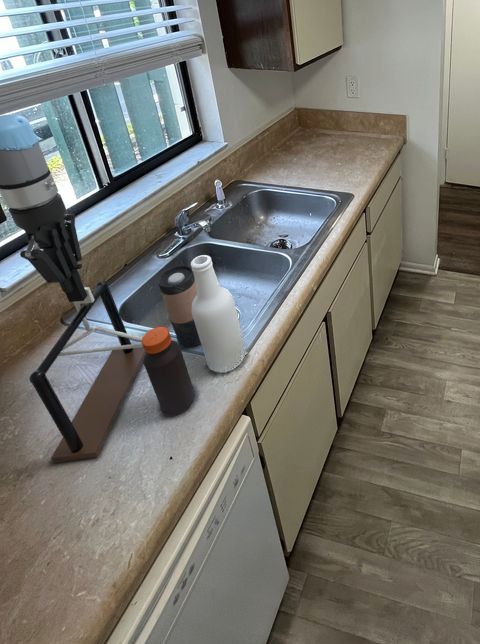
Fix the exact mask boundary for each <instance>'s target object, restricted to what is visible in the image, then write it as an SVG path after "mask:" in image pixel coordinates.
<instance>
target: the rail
mask: <svg viewBox="0 0 480 644" xmlns="http://www.w3.org/2000/svg"><path fill="white" fill-rule="evenodd" d="M91 292H92V295H93V297H94V299H95V300H94V302H93V303H83V304H82V306H81V309H80V310H79V312H78V311H77V313H76V314H75V316H74V317H73V319H72V320H71V321H70V322H69V325H67V327H66V328H65V330H64V331H63V333H62V334H61V335H60V336H59V338H58V340H57V341H56V342H55V343H54V345H53V346H52V348H51V349H50V351H49V352H48V354H46V356H45V358H44V359H43V360H42V362H41V363H40V364H39V366H38V368H37V369H36V370H34V371H33V372H32V373H31V374H30V375H29V379H28V380H29V383H31V384H32V386H33V388H34V389H35V391H36V393H37V395H38V396H39V398H40V400H41V402H42V404H43V405H44V407H45V409H46V411H47V412H48V414H49V415H50V418H51V420H52V421H53V423H54V425H55V426H56V428H57V429H58V431H59V433H60V434H61V436H62V438H61V440H60V441H59V443H58V445H57V447H56V448H55V450H54V451H53V453H52V456H51V457H50V460H51V461H52V463H53V464H56V463H65V462H71V461H79V460H85V459H93V458H94V459H95V458H98V457H99V455H100V454H101V451H102V448H103V446H104V445H105V443H106V441H107V438H108V436H109V435H110V432H111V430H112V428H113V425H114V423H115V422H116V420H117V418H118V415H119V413H120V411H121V409H122V407H123V405H124V403H125V401H126V398H127V396H128V394H129V392H130V390H131V388H132V386H133V384H134V382H135V380H136V378H137V375H138V373H139V372H140V369H141V367H142V365H143V358H144V356H145V353H146V352H145V350H144V348H143V347H139V348H130V349H120V350H111V351H110V354H109V356H108V357H107V358H106V361H105V362H104V364H103V366H102V368H101V369H100V370H99V371H100V372H99V373H98V375H97V376H96V378H95V380H94V382H93V383H92V385H91V387H90V389H89V390H88V392H87V393H86V396H85V397H84V399H83V401H82V403H81V404H80V407H79V408H78V410H77V411H76V413H75V415H74V417H73V418H72V420H71V418H70V417H69V415H68V413H67V412H66V411H67V410H66V409H65V407H64V406H63V404H62V402H61V401H60V398H59V397H58V394H57V393H56V391H55V390H54V389H55V388H53V386H52V384H51V382H50V380H49V378H48V377H47V373H48V371H49V370H50V369H51V367H52V366H53V364H54V363H55V362H56V360H57V358H58V357H59V356H58V355H59V354H60V352H63V351H64V350H63V348H64V347H65V345H66V344H67V343H69V342H70V339H71V338H72V337H73V336H74V334H75V332H76V331H77V330H78V328H79V327H80V325H81V324H82V323H83V322H82V321H83V319H84V318H85V317H87V315H88V313H89V312H90V311H91V309H92V308H93V306H94V305H95V304H96V302H97V301H98V299H99V298H100V299H101V301H102V304H103V306H104V309H105V311H106V314H107V316H108V318H109V321H110V323H111V325H112V328H113V330H114V331H118V332H122V333H126V334H128V332H127V329H126V327H125V325H124V321H123V320H122V317H121V314H120V312H119V309H118V307H117V304H116V301H115V299H114V297H113V294H112V292H111V289H110V287H109V282H107V281H106V280H100V281H98V282H97V283H96V284H95V288H94V290H93V291H91ZM116 337H117V339H118V342H119V344H120V345H119V346H122V345H131V344H132V342H131V339H129V338H125V337H121V336H117V335H116ZM62 350H63V351H62Z"/></svg>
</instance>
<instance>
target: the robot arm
mask: <svg viewBox="0 0 480 644" xmlns="http://www.w3.org/2000/svg"><path fill="white" fill-rule="evenodd" d="M0 196H1V198H2V200H3V203H4V205H5V206H6V207H7V208H9V209H8V212H9V214H10V216H11V218H12V220H13V222H14V224H15V226H16V227H18V228H19V229H21V230H23V231H24V233H25V240H26V242H28V244H27V247H26V249H24V250H23V249H22V250H21V251H20V252H19V253H20V254H19V256H20V258H23V259H24V260H27V261H28V262H29V263H30V264H31V265H32V266H33V268H34V269H35V271H36V272H38V274H39V275H40V276H41V277H42V278H43V280H44V281H45V282H46V283H47V284H56V283H58V284H59V286H60V288H61V290H62V292H63V293H64V294H65V296H66V298H67V300H68V302H69V303H74V302H76V301H84V300H85V298H86V297H87V296H88V295H87V293H86V291H85V289H84V287H85V286H84V284H83V282H82V278H81V277H82V276H81V275H80V272H79V270H82V268H83V263H79V262H81V261H82V259H83V257H82V252H81V247H80V243H79V237H78V233H77V229H76V215H75V213H66V212H67V208H66V205H65V203H64V200H63V198H62V195H61V194H60V193H59V189H58V186H57V184H56V182H55V180H54V178H53V174H52V173H51V170H50V167H49V166H48V164H47V160H46V158H45V155H44V153H43V150H42V147H41V145H40V142H39V138H38V136H37V135H36V133H35V131H34V129H33V127H32V125H31V123H30V121H29V120H28V119H27V118H26V117H25V116H23V115H19V114H2V115H0Z"/></svg>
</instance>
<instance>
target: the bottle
mask: <svg viewBox="0 0 480 644" xmlns="http://www.w3.org/2000/svg"><path fill="white" fill-rule="evenodd" d="M140 342H141V343H142V345H143V348H144V350H145V352H146V353H145V356H144V358H143V363H142V365H143V366H144V368H145V371H146V373H147V376H148V378H149V381H150V385H151V387H152V389H153V392H154V394H155V397H156V400H157V401H158V404H159V407H160V409H161V412H162V413H164V414H165V415H166V416H178V415H179V414H182V413H184V412H185V411H187V410H188V409H189V408H190V407H191V406H192V404H193V403H194V402H195V399H196V391H195V388H194V384H193V382H192V378H191V376H190V372H189V369H188V367H187V364H186V361H185V357H184V354H183V352H182V348H181V345H180V344H179V342H177V341H175V340H172V336H171V333H170V330H169V328H167V327H166V326H157V327H154V328H152V329H150V330H148V331H146V332H145V334H144V335H143V336H142V341H140Z"/></svg>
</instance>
